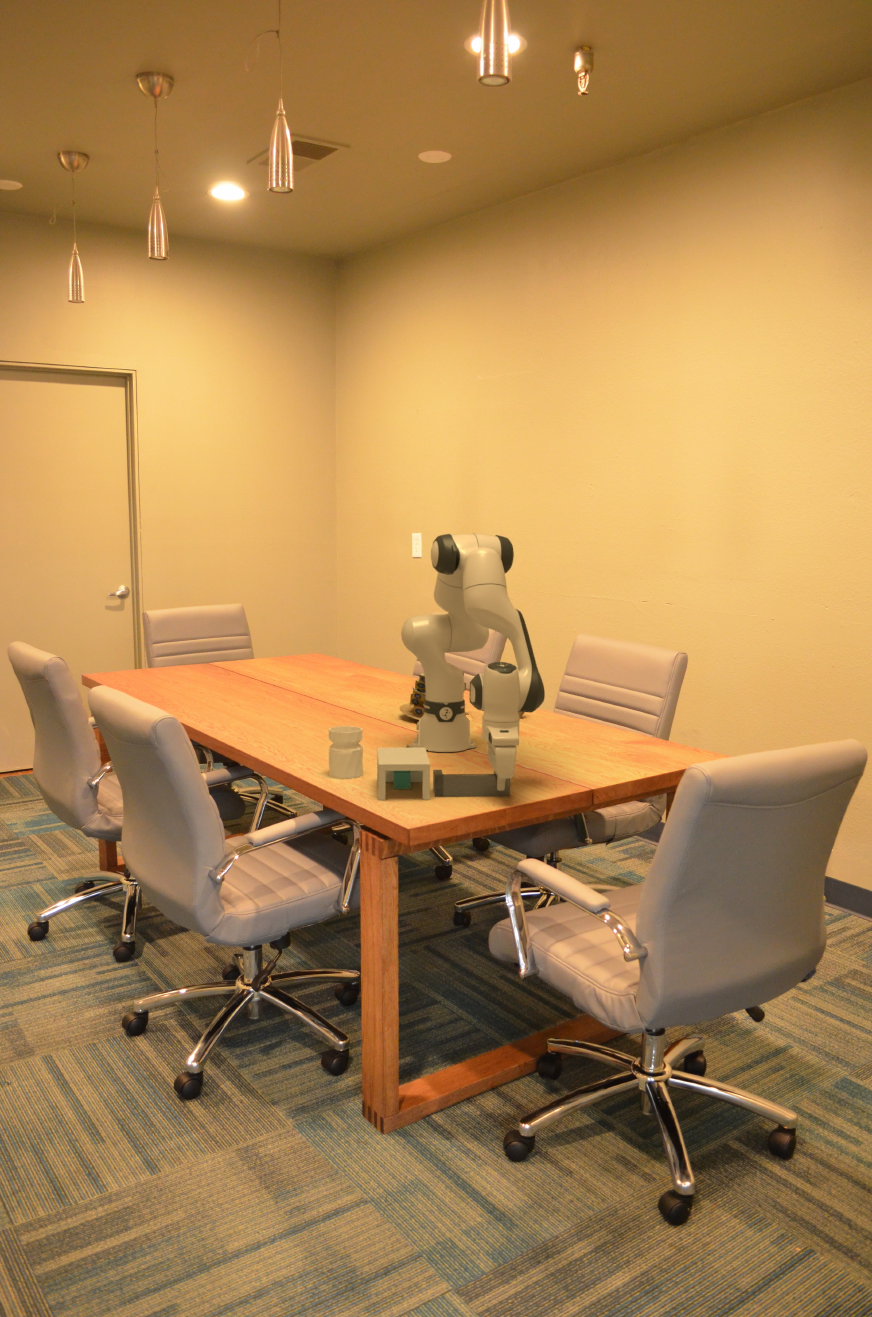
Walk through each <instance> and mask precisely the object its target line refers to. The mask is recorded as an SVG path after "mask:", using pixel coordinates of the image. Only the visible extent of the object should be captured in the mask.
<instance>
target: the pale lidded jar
mask: <svg viewBox="0 0 872 1317" xmlns="http://www.w3.org/2000/svg"><path fill="white" fill-rule="evenodd" d="M363 731H364V730H363V728H362V727H359V726H353V725H340V726H339V725H337V726H333V727H330V728H329V729H328V740H329V741H330V742H331V743H332V744H331V745H329V748H328V768H329V773H328V774H329V777H330V776H331V777H330V778H333V779H337V778H340V779H339V780H353V779H352V778H354V779H359V778H361V777H362V776H363V774H364V769H363V768H364V765H363V756H364V748H363V746H362V745H361V744H360V742H362V740H363ZM360 776H361V777H360ZM358 777H359V778H358Z"/></svg>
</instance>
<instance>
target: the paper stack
mask: <svg viewBox="0 0 872 1317" xmlns="http://www.w3.org/2000/svg"><path fill="white" fill-rule="evenodd" d="M460 670H461V672H462V673H463V676H464V677H465V673H464V670H463V669H460ZM418 676H419V678H418V679H417V680H415V682H414V684H415V685H414V686H412V693H410V698H409V702H408V703H404V704H402V705H400V706H399V711H400V712H401V713H402V714H403V715H405V716H408V717H409V718H411V719H415V720H418V721H419V719H421V717H422V716H423V715H424V713H425V712H424V700H425V699H426V688H425V674H424V672H422V673H419V675H418ZM466 690H467V683H466V682H464V692H465V691H466ZM464 714H465V716H466V715H469V714H470V713H469V712H467V711H465V712H464Z"/></svg>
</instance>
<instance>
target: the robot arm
mask: <svg viewBox="0 0 872 1317" xmlns="http://www.w3.org/2000/svg"><path fill="white" fill-rule="evenodd" d="M514 552H515V551H514V546H513V544H512V541H511V540H510V539H509V538H508V537H506V536H503V535H497V534H496V535H492V534H484V533H475V532H474V533H461V534H460V533H459V534H451V533H446V534H440V535H438V536H436V538H435V539H434V540H433V542H432V546H431V549H430V561H431V564H432V568H433V569H435V571H436V572H437V575H436V580H435V586H434V591H433V598H434V601H435V603H436V604H437V606H438V607H439V608H441V609H442V610H443V611H445V612H447V613H444V614H443V613H441V614H438V613H437V614H420V615H416V616H415V615H414V616H411V617H408V618H407V619H406V620H405V621H404V623H403V625H402V628H401V632H400V633H401V634H400V636H401V640H402V643H403V646H405V648H406V649H407V650H408V651H409V652H411V653H412V654H413V655H414V656H415V657H416V658H417V660H418V661H419V663H420V665H421V667H422V669H423V673H424V674H425V688H426V699H425V700H424V712H425V713H424V715H423V716H422V717H421V719H419V720H418V721H417V722H416V731H417V733H416V737H415V738H414V740H413V741H412V742H411V746H412V747H414V748H425V749H426V751H427V750H428V751H429V752H435V753H436V752H438V753H452V752H453V753H454V752H463V751H465V750H469V749H475V748H476V747H477V743H476V742H474V741H472V740H471V722H470V720H469V719H468V718H467V717H466V716H465V714H464V712H466V701H465V699H464V693H465V691H464V683H465V678H464V677H465V675H464V676H463V673H462V672H461V670H462V669H460V668H458V666H455V665H453V664H451V663H449V662H447V660H446V653H467V652H473V651H476V650H480V649H483V648H484V647H485V646H486V644H487V642H488V640H489V636H490V630H492V631H495V632H497V633H498V634H501V635H502V636H504V637H506V638H507V639H508V640H509V641H510V643H511V646H512V649H513V653H514V658H515V662H516V664H512V663H510V662H504V661H493V662H490V663H488V664H487V665H486V666H485V670H484V672H481V673H480V672H479V673H477V674H476V675H475V676H474V677H472V679H471V680H470V681H469V703H470V704H471V705H472V706H473V707H474V708H475V709H476V710H478V711H482V712H483V714H482V717H481V719H482V720H481V721H482V726H481V727H482V728H481V729H482V730H481V732H482V733H481V737H482V739H483V740H485V741H487V742H486V745H487V761H488V762H489V763H490V766H491V767H492V769H493V774H496V775H497V786H496V787H497V790H499V791H503V790H504V789H505V781H506V779H508V778H510V779H512V778H514V775H515V771H516V770H515V769H516V761H517V760H516V758H517V746H519V745H520V721H521V720H520V719H521V717H519V714H518V712H525V713H533V712H535V711H536V710H537V709H539V708H540V707H541V705H542V704H543V703H544V701H545V696H546V695H545V693H546V692H545V686H544V682H543V679H542V676H541V673H540V671H539V668H538V666H537V665H538V664H537V662H536V658H535V653H534V649H533V646H532V643H531V637H530V635H529V631H528V628H527V624H526V621H525V620H526V619H525V617H524V615H523V614H522V612H521V611H520V610H519V609H517V608H515V607H514V605H513V603H512V602H511V599H510V597H509V595H508V588H507V587H508V586H507V578H506V574H507V573H508V572H509V571H510V570H511V568H512V566H513V563H514V557H515V553H514ZM516 665H517V666H516Z"/></svg>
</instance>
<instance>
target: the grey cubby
mask: <svg viewBox="0 0 872 1317" xmlns="http://www.w3.org/2000/svg"><path fill="white" fill-rule="evenodd" d="M376 752H377V754H376V755H377V757H376V758H377V763H376V764H377V765H376V766H377V767H376V768H377V772H376V776H377V778H376V779H377V780H376V782H377V783H378V785H377V786H378V787H377V788H378V792H377V796H378V801H386V783H394V771H410V772H411V782H410V783H422V800H426V801H427V800H428V801H429V800H430V799H431V798H430V797H431V796H430V794H431V792H430V790H431V789H430V788H431V763H430V759H429V756H428V753H427V750H426V749H425V748H406V747H377V751H376Z"/></svg>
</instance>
